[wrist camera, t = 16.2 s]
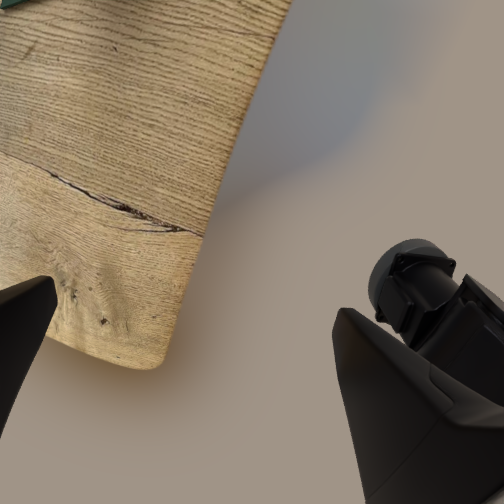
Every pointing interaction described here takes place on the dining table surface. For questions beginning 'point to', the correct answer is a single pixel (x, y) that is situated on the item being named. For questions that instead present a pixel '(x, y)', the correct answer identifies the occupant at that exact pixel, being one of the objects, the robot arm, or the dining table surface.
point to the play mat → (10, 3)
